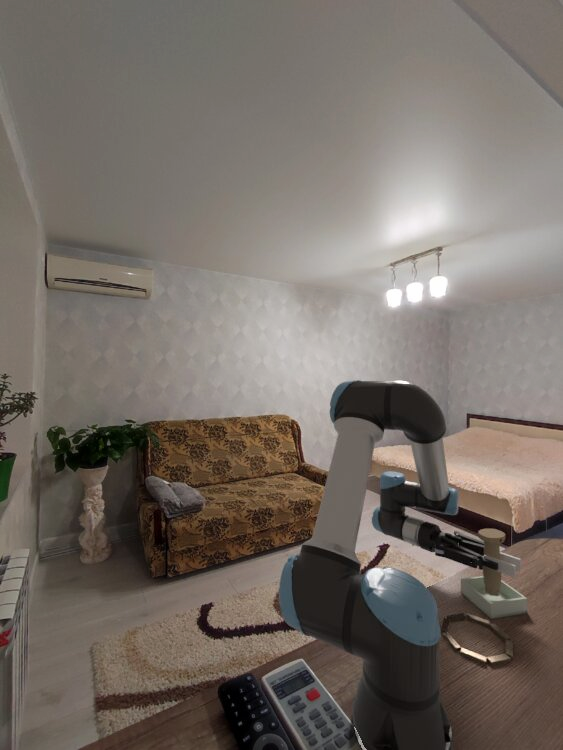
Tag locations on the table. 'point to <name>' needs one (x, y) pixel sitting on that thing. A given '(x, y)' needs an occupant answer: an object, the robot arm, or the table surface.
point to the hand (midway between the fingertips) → (517, 568)
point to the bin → (494, 598)
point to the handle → (492, 549)
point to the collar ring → (469, 654)
